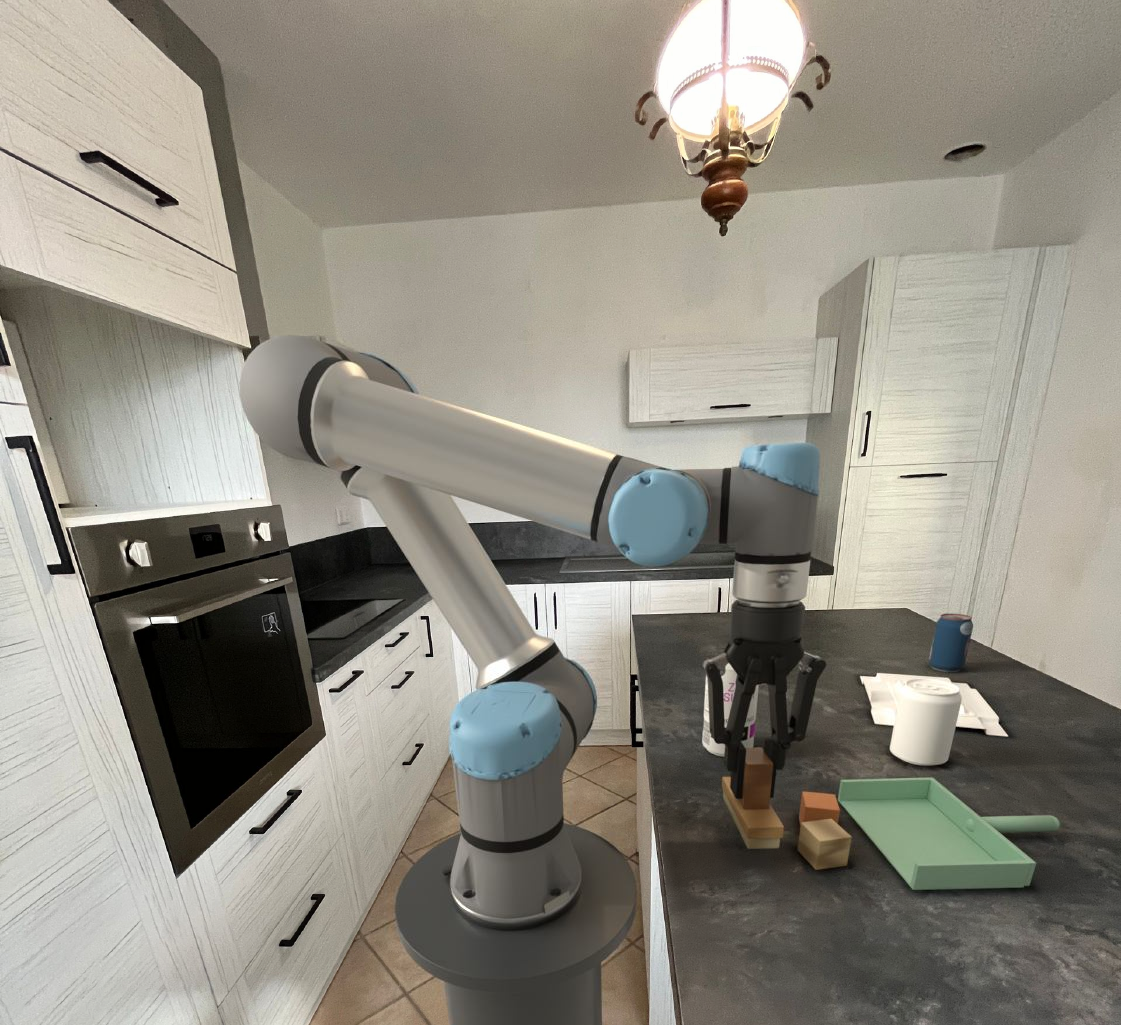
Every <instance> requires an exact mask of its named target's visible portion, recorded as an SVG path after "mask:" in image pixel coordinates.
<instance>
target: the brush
mask: <svg viewBox="0 0 1121 1025" xmlns="http://www.w3.org/2000/svg"><path fill="white" fill-rule="evenodd" d="M772 772H773V763H772V761H771V760H770V759H769V757H768V756H767V754H766V753H765V752H764V748H763V747H762V746H761V747H760V746H758V747H753V748H746V759H745V768H744V781H743V793H742V799H736V798H735V796H734V794H733V792H732V790H731V788H730V782H731V776H722V778H721V788H722V790H723V792H722V798H723V800H724V803H725V805H726V807H727V808H728V811H729V813H730V815H731V817H732V819H733V821H734V823H735V825H736V827H737V830H738V832H739V833H740V835H741V838H742V840H743V842H744V844H745V846H746V848H747V849H748V850H754V849H755V850H756V849H758V850H759V849H779V848H780V843H781V839H783V837H784V832H785V831H784V830H785V826H784V825H783V823H782V821H781V819H780V818H779V816H778V814H777V813H776V812H775V810H774V808H773V806H772V805H771V803H770V800H771V798H770V791H771V781H772Z"/></svg>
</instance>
